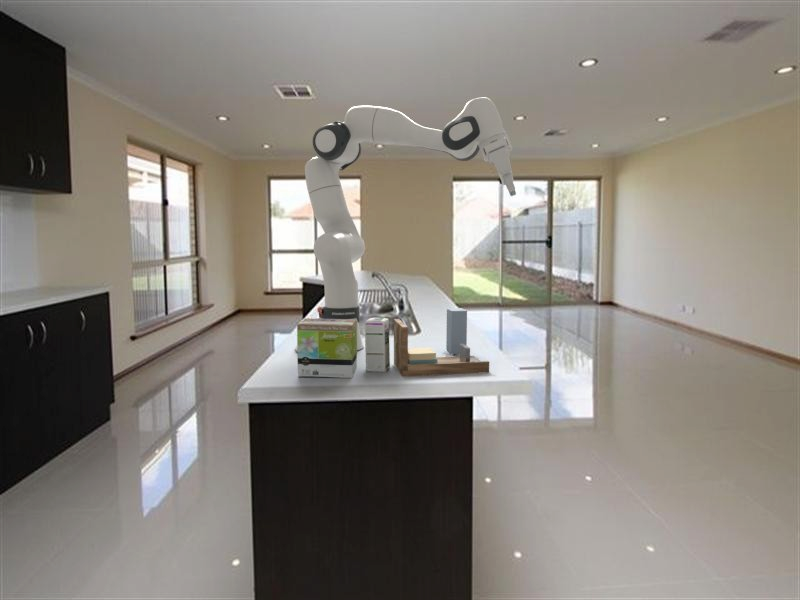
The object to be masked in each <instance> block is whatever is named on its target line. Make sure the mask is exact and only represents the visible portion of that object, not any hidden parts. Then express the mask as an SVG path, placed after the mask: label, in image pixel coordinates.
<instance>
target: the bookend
mask: <svg viewBox="0 0 800 600" xmlns="http://www.w3.org/2000/svg"><path fill="white" fill-rule="evenodd" d="M459 356H460V361H461V362H475V361H481V359H479V358H478V357H476V358H474V359H470V356H471V347H469V346H468V345H467V346H466V345H465V344H460V354H459Z"/></svg>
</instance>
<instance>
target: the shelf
mask: <svg viewBox="0 0 800 600" xmlns="http://www.w3.org/2000/svg"><path fill="white" fill-rule="evenodd" d="M408 329H409V326H407V325H406V324H405V323H404V322H403V321H402V320H401V319H400V318H393V366H395V368H396V369H397V370H398V372H399V374H400V375H401V377H419V376H420V377H421V376H439V375H459V374H460V375H462V374H463V375H464V374H479V372H486V373H490V361H489V360H480V361H475V362H461V361H460V355H457V356H438V357H437V356H436V358H437V359H438V360H437V363H430V364H408V348H409V346H408V345H409V330H408ZM474 358H477V357H476V356H475V355H470V359H474Z"/></svg>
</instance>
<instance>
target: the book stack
mask: <svg viewBox="0 0 800 600" xmlns="http://www.w3.org/2000/svg"><path fill="white" fill-rule="evenodd" d="M436 357H437V352H436V351H434V350H433V349H432V348H431V347H413V348H412V347H410V348H409V347H408V364H430V363H437V360H438V359H437V358H436Z"/></svg>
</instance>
